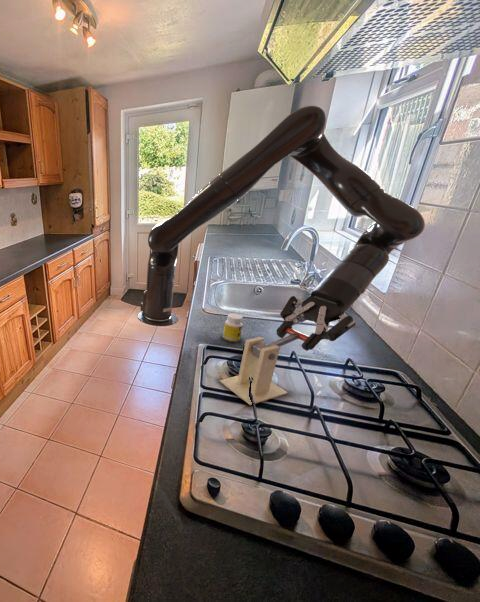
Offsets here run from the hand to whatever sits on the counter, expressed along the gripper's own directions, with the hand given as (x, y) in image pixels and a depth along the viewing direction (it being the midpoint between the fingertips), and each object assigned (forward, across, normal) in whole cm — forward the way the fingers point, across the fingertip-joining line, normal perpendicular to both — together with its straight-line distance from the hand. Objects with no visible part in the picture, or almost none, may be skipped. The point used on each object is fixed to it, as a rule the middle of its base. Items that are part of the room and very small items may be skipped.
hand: (291, 341), depth 70 cm
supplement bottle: (+5, -20, +11) cm, 24 cm away
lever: (+3, 0, -2) cm, 4 cm away
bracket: (+14, 0, +2) cm, 14 cm away
